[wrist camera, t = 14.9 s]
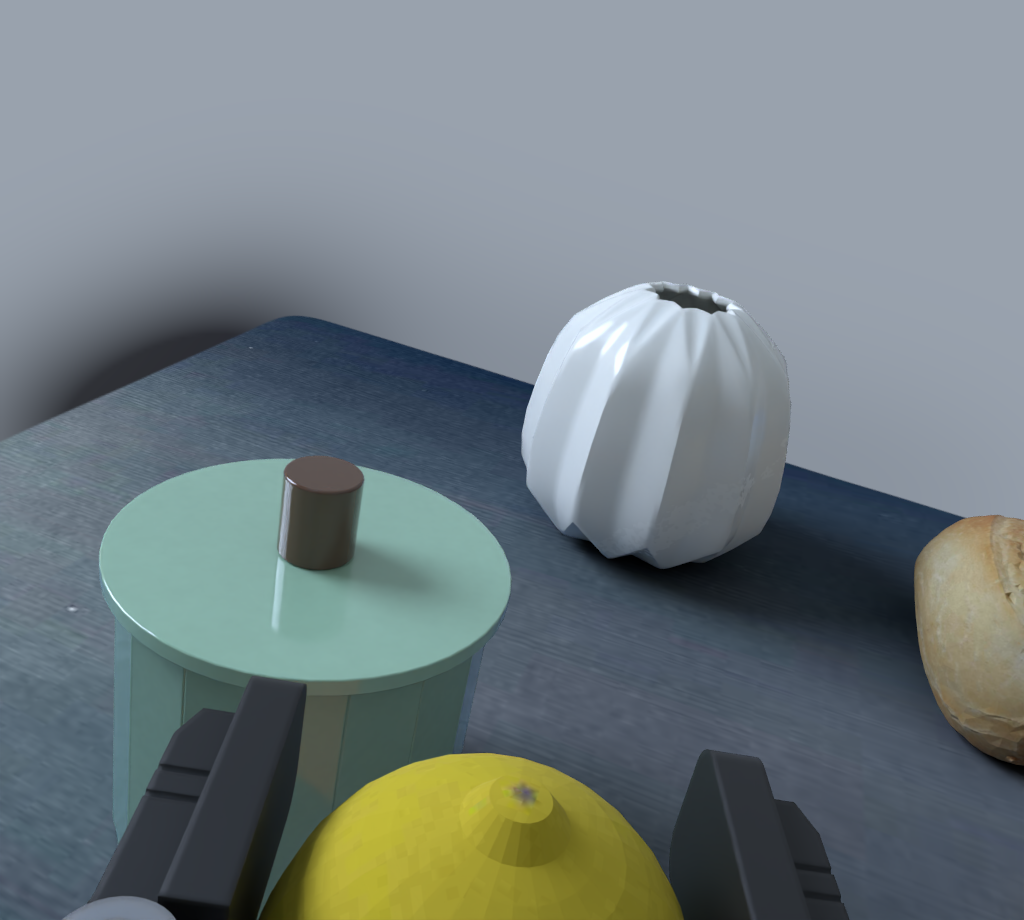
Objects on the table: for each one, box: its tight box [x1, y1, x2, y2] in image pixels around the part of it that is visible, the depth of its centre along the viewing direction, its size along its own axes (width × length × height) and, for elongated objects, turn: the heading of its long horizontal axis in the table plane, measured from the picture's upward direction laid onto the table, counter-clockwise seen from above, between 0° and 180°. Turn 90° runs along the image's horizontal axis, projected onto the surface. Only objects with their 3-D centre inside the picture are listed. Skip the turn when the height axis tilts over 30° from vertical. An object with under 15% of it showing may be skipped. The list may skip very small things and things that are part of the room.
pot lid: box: [99, 456, 512, 696], centre depth 27 cm, size 11×11×4 cm
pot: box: [113, 617, 485, 920], centre depth 30 cm, size 10×10×9 cm
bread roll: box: [914, 515, 1024, 765], centre depth 45 cm, size 10×15×8 cm, turn 164°
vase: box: [522, 282, 791, 569], centre depth 51 cm, size 14×14×13 cm
